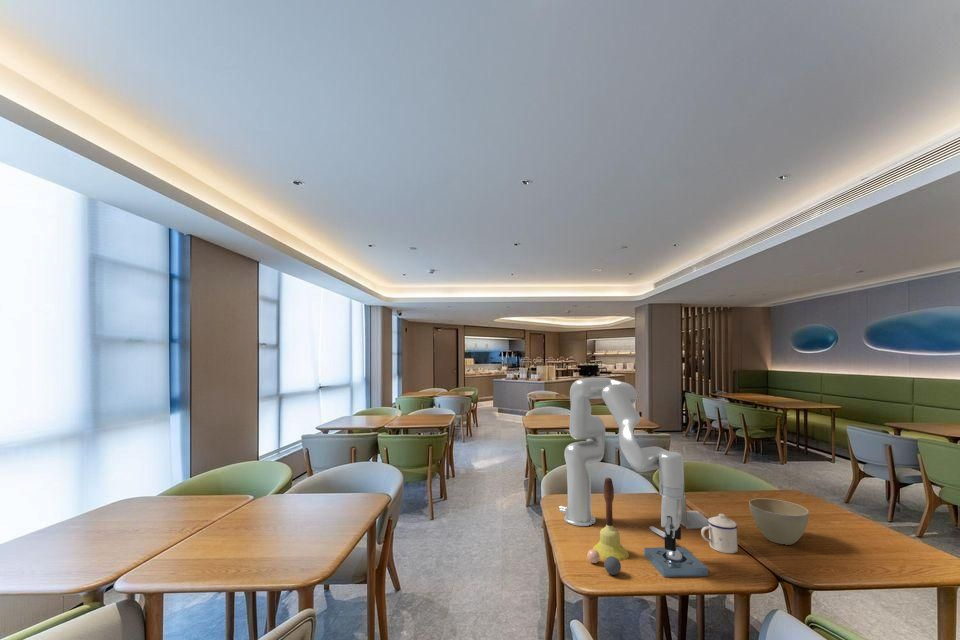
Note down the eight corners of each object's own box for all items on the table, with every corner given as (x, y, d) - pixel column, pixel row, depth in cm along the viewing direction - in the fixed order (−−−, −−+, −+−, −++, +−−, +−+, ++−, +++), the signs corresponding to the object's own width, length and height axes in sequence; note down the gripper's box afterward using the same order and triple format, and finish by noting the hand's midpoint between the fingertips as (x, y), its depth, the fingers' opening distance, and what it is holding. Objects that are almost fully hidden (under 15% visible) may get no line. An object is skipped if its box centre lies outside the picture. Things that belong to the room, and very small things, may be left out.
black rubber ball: (602, 574, 130) (601, 558, 131) (607, 568, 134) (606, 551, 135) (618, 579, 127) (618, 562, 128) (623, 572, 132) (622, 556, 132)
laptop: (718, 529, 164) (717, 495, 165) (686, 529, 165) (685, 495, 166) (697, 512, 182) (695, 481, 183) (667, 512, 183) (666, 481, 184)
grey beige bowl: (802, 534, 159) (800, 502, 160) (817, 555, 143) (815, 518, 144) (747, 526, 167) (745, 495, 168) (755, 545, 150) (753, 510, 151)
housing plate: (663, 577, 129) (663, 568, 129) (644, 555, 143) (644, 547, 143) (708, 576, 129) (707, 567, 130) (684, 554, 143) (684, 547, 144)
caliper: (676, 553, 145) (676, 534, 146) (673, 553, 145) (673, 534, 146) (651, 528, 165) (651, 512, 166) (649, 528, 165) (648, 512, 166)
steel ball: (664, 566, 136) (664, 550, 136) (667, 559, 140) (667, 544, 140) (681, 570, 133) (681, 554, 133) (684, 564, 137) (683, 548, 137)
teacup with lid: (728, 542, 153) (727, 509, 154) (744, 554, 144) (742, 519, 145) (695, 542, 153) (694, 509, 154) (709, 554, 144) (707, 519, 145)
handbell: (628, 563, 137) (626, 485, 139) (590, 557, 142) (588, 481, 144) (629, 547, 149) (627, 475, 151) (593, 542, 153) (592, 472, 155)
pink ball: (585, 563, 137) (585, 550, 138) (589, 558, 141) (589, 546, 141) (597, 566, 135) (597, 553, 136) (601, 561, 138) (601, 549, 139)
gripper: (664, 481, 147) (665, 531, 146) (654, 495, 133) (655, 551, 132) (688, 485, 143) (689, 537, 142) (679, 500, 129) (681, 558, 128)
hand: (673, 544), depth 137 cm, fingers open, 9 cm apart
